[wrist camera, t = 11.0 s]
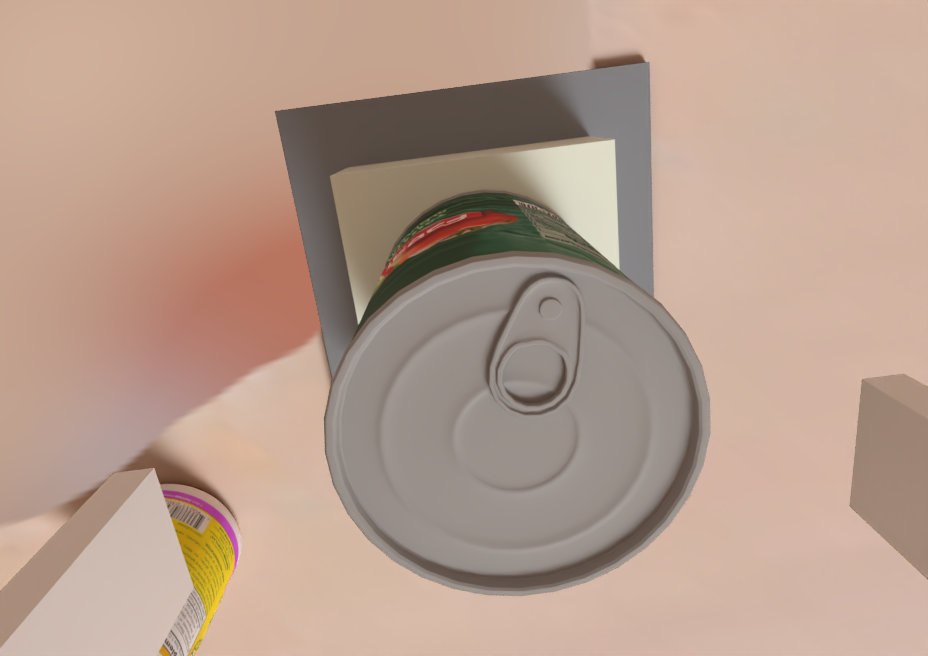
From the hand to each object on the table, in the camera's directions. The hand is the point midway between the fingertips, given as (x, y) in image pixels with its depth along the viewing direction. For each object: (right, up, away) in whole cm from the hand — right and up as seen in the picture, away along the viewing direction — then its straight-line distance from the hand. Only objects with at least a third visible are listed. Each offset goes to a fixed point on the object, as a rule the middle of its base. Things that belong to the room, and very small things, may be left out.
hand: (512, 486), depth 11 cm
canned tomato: (0, +4, +11) cm, 12 cm away
